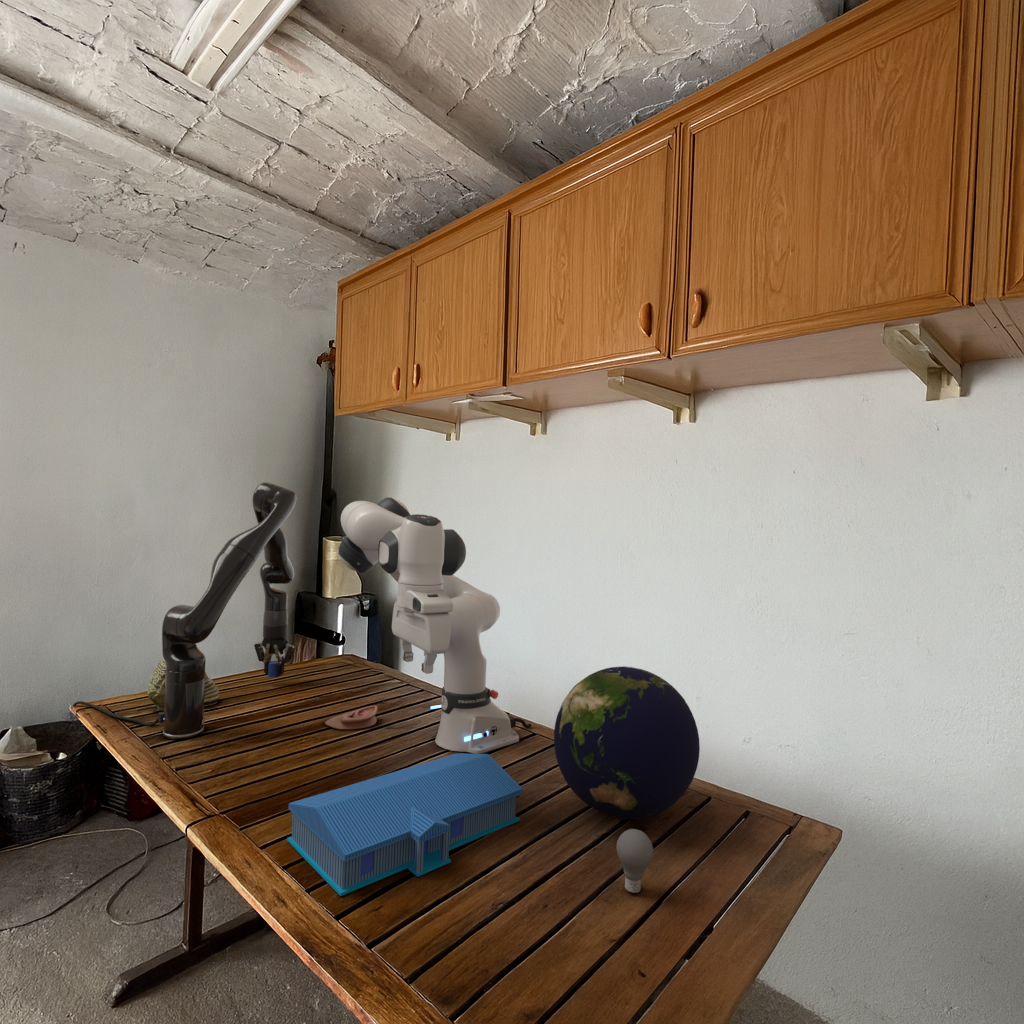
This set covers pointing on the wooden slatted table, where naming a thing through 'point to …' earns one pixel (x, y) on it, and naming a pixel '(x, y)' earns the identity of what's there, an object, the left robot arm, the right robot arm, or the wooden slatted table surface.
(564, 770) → the globe
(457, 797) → the model building
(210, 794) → the wooden slatted table surface
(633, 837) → the light bulb
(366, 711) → the anatomical model
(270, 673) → the canister
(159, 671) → the fossil
